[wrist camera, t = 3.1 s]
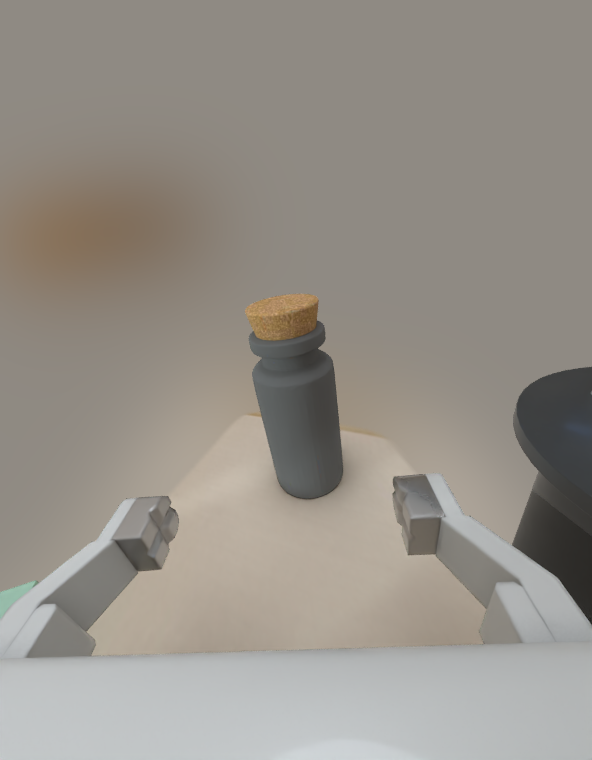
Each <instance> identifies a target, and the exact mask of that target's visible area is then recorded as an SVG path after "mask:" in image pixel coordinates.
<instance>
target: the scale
mask: <svg viewBox="0 0 592 760" xmlns="http://www.w3.org/2000/svg"><path fill="white" fill-rule="evenodd" d="M37 584H38V582H37V581H36V580H35V581H32V582H29V583H26V584H23V585H20V586H17V587H14V588H11V589H8V590H5V591H2V592H0V619H1V618H2V616H3V615H4V614H5V612H6V611H7V610H8V608H9V607H10V606H11V605H12V604H13V603H14V602H15V601H16V600H18V599H19V598H20V597H22V596H23V595H24V594H25V593H27V592H28V591H29V590H31V589H32V588H33V587H34V586H36V585H37Z"/></svg>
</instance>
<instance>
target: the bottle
mask: <svg viewBox="0 0 592 760" xmlns="http://www.w3.org/2000/svg"><path fill="white" fill-rule="evenodd" d="M317 311H318V298H317V297H316V296H313V295H310V294H290V295H282V296H276V297H271V298H268V299H264V300H261V301H258V302H255V303H253V304H251V305H249V306H248V307H247V308H246V310H245V313H246V315H247V317H248V320H249V322H250V324H251V326H252V329H253V332H252V333H251V334H250V336H249V343H250V348H251V350H252V352H253V353H254V354H255V355H257V356H259V357H262V359H261V360H260V361H259V362H258V363H257V364H256V366H255V367H254V369H253V372H252V376H253V382H254V386H255V391H256V395H257V399H258V403H259V406H260V411H261V415H262V419H263V423H264V427H265V431H266V435H267V439H268V443H269V447H270V451H271V455H272V459H273V463H274V467H275V470H276V474H277V478H278V481H279V483H280V485H281V487H282V488H283V489H284V490H285V491H286V492H287V493H289V494H291V495H293V496H295V497H299V498H305V499H306V498H316V497H320V496H323V495H325V494H327V493H329V492H330V491H332V490H333V489H334V488H335V487H336V486H337V485H338V483H339V482H340V480H341V478H342V473H343V462H342V450H341V439H340V427H339V416H338V406H337V395H336V385H335V374H334V367H333V361H332V359H331V357H330V356H329V355H328V354H326V353H325V352H323V351H321V350H319V349H318V347H320V346H321V345H322V344H323V343H324V341H325V328H324V325H323V324H322V323H321V322H319V321H317Z"/></svg>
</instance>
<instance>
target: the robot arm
mask: <svg viewBox="0 0 592 760" xmlns="http://www.w3.org/2000/svg"><path fill="white" fill-rule="evenodd" d="M591 395H592V391H591ZM393 486H394V489H395V492H394V493H393V506H394V511H395V515H396V519H397V522H398V523H399V524H400V525H401V526H402V538H403V541H404V544H405V547H406V550H407V553H408V555H427V554H436V557H437V558H438V559H439V560H440V561H441V562H442V563H443V564H444V565H445V566H446V567H447V568H448V569H449V570H450V571H451V572H452V573H453V574H454V575H455V576H456V578H457V579H458V580H459V581H460V582H461V583H462V584H463V585H464V586H465V587H466V588H467V589H468V590H469V591H470V592H471V593H472V594H473V595H474V596H475V597H476V598H477V599H478V600H479V602H480V603H481V604H482V605H483V606H484V607H485V608H486V609H487V611H486V613H485V616H484V619H483V622H482V624H481V627H480V630H479V633H480V635H481V638H482V640H483V642H484V644H473V645H439V646H406V647H372V648H339V649H305V650H272V651H239V652H205V653H172V654H139V655H107V656H91V654H92V652H93V650H94V648H95V646H96V642H95V639H93V638H92V637H91V636H90V635H89V634H88V633H87V632H86V631H87V630H88V629H89V628H90V627H91V626H92V625H93V623H94V622H95V621H96V620H97V619H98V618H99V617H100V616H101V614H102V613H103V612H104V611H105V610H106V609H107V608H108V607H109V605H110V604H111V603H112V602H113V601H114V600H115V599H116V598H117V596H118V595H119V594H120V593H121V592H122V591H123V590H124V588H125V587H126V586H127V585H128V584H129V583H130V582H131V581H132V579H133V578H134V577H135V576H136V575H137V574H138V571H149V570H160V569H162V567H163V565H164V562H165V560H166V557H167V555H168V553H169V550H170V549H169V546H168V543H169V542H171V541H172V540H173V539H174V538H175V535H176V533H177V530H178V524H179V518H178V514H177V512H176V510H174V509H173V508H171V507H170V504H171V501H170V499H169V497H168V496H158V497H139V498H126V499H125V500H124V501H122V502H121V504H120V506H119V507H118V508H117V510H116V511H115V513H114V515H113V516H112V518H111V519H110V521H109V522H108V524H107V525H106V527H105V528H104V530H103V531H102V533H101V534H100V536H99V537H98V539H97V540H96V541H94V542H91V543H89V544H88V545H87V546H86V547H84V548H83V549H82V550H80V551H79V552H78V553H77V554H75V555H74V556H73V557H71V558H70V559H69V560H68V561H66V562H65V563H64V564H63V565H61V566H60V567H59V568H57V569H56V570H55V571H54V572H52V573H51V574H50V575H49V576H47V577H46V578H45V579H43V580H42V581H41V582H40V583H38V584H37V585H36V586H34V587H33V588H32V589H31V590H29V591H28V592H27V593H25V594H24V595H23V596H22V597H20V598H19V599H18V600H16V601H15V602H14V603H13V604H12V605H11V606H10V607H9V608H8V610H7V611H6V612H5V614H4V615H3V616H2V618H1V619H0V760H592V625H591V624H590V622H589V621H588V619H587V618H586V617H585V615H584V614H583V613H582V611H581V610H580V608H579V607H578V606H577V604H576V603H575V601H574V600H573V599H572V597H571V596H570V594H569V593H568V592H567V590H566V589H565V587H564V586H563V585H562V583H561V582H560V580H559V579H558V578H557V577H556V576H554V575H553V574H551V573H550V572H549V571H547V570H546V569H544V568H543V567H541V566H540V565H539V564H537V563H536V562H534V561H533V560H532V559H530V558H529V557H527V556H526V555H525V554H523V553H522V552H520V551H519V550H518V549H516V548H515V547H513V546H512V545H510V544H509V543H508V542H506V541H505V540H503V539H502V538H501V537H499V536H498V535H496V534H495V533H494V532H492V531H491V530H490V529H488V528H487V527H485V526H484V525H482V524H481V523H480V522H478V521H477V520H475V519H474V518H473V517H471V516H465V515H464V513H463V511H462V509H461V508H460V506H459V504H458V502H457V500H456V499H455V497H454V495H453V493H452V492H451V490H450V488H449V486H448V484H447V483H446V481H445V479H444V477H443V476H442V475H441V474H440V473H433V474H424V475H423V474H419V475H408V476H397V477H394V478H393Z"/></svg>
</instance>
